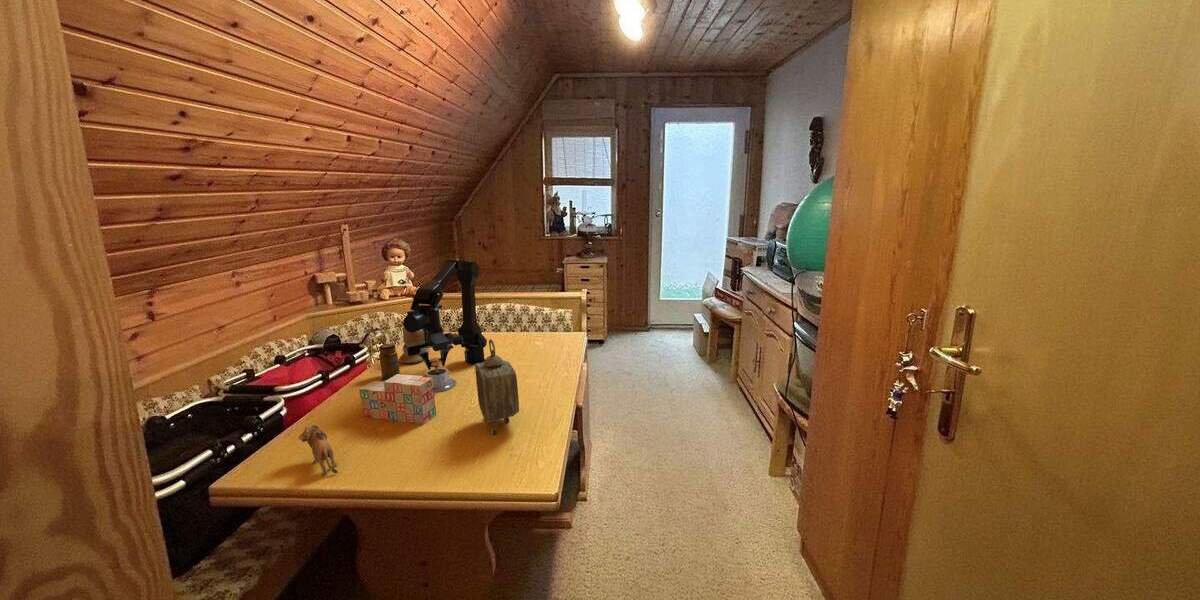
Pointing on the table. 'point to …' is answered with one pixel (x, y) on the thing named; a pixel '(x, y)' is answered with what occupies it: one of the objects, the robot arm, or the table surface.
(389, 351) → the condiment
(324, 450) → the lion figurine
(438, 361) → the plunger
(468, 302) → the robot arm
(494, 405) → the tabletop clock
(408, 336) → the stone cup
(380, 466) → the table surface
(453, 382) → the coaster
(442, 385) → the carafe
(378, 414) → the stack of blocks
